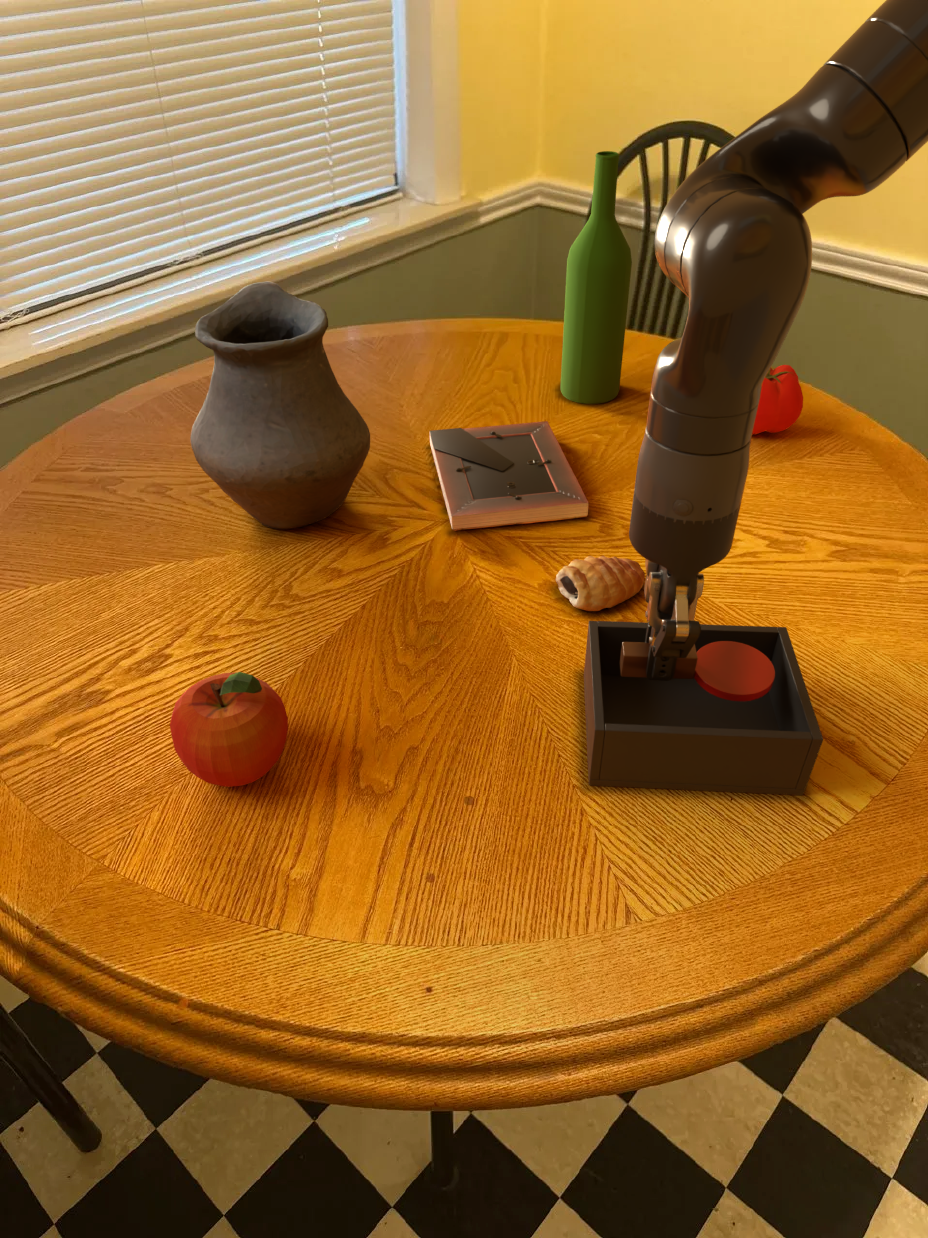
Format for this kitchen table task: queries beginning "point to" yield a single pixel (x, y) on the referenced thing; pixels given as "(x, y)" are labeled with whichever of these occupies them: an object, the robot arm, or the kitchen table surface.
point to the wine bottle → (596, 296)
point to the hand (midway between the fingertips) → (657, 667)
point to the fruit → (229, 729)
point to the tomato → (778, 401)
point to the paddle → (711, 668)
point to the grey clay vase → (276, 410)
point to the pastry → (600, 582)
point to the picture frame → (505, 476)
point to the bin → (697, 720)
